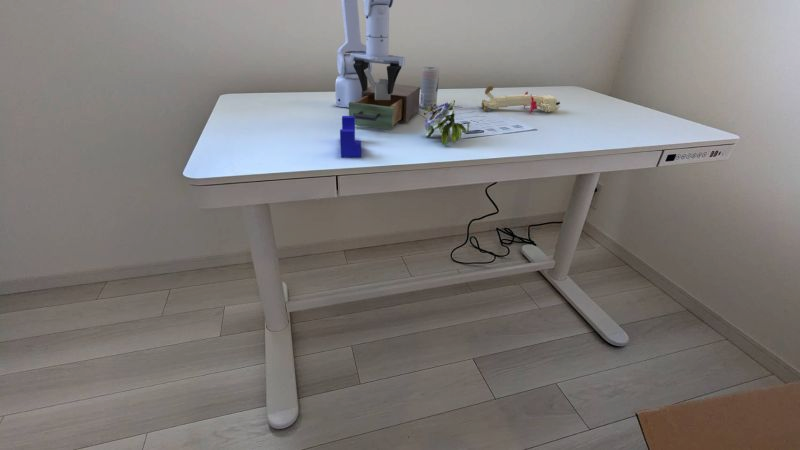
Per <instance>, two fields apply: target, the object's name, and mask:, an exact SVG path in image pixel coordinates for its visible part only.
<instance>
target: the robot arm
mask: <svg viewBox="0 0 800 450" xmlns="http://www.w3.org/2000/svg"><path fill="white" fill-rule="evenodd" d="M340 1H341V3H340V4H341V13H342V24H343V33H344V34H343V35H344V43H343V44H342V45H341V46H340V47H338V49H337V51H336V67H337V71H338V74H339V75H338V76H337V77H336V79H335V84H334V87H335V88H334V89H335V104H334V106H335V107H340V108H348V109H349V102H355V101H357V100H359V99H361V98H362V91H366V90H367V88H369V87H368V83H369V81H368V79H367V76H366V74H365V72H364V69H366V68H369V71H370V73H371V74H372V71H373V64H382V65H388V66H386V74H387V80H388V94H392V93H393V88H394V84H396V81H397V78H398V75H399V73H400V72H401V69H402V67H404V66H406V56H399V55H393V54H389V51H390V50H389V48H390V46H389V45H390V43H389V42H390V41H389V40H390V9H391V8H392V6H393V4H394V0H362V3H363V4H362V5H363V14H364V16H365V44H364V43H363V42H362V39H361V25H360V16H359V13H360V12H359V4H358V3H359V2H358V1H359V0H340Z"/></svg>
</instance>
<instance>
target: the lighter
mask: <svg viewBox="0 0 800 450" xmlns="http://www.w3.org/2000/svg"><path fill="white" fill-rule="evenodd" d="M364 72H365V74H366V76H367V81H368V83H369V85H370V86H373V85H375V100H390V94H388V78H387V79H386V78H378V81H375V78H374V77H373V75H372V72H371V73H370V71H369V68H366V69H364Z"/></svg>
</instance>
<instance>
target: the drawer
mask: <svg viewBox="0 0 800 450" xmlns="http://www.w3.org/2000/svg"><path fill="white" fill-rule="evenodd" d="M403 113H404V99H400V98H391V97H390V100H375V96H374V95H366V96H364V97H363V98H361V99H359V100H357V101H355V102H349V108H348V116H355V126H360V127H367V128H374V129H379V130H380V129H381V130H388V131H393V130H394V126H395V125H396V124H397V123H398V121H399V120H401V119H402V118H403Z"/></svg>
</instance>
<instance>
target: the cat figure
mask: <svg viewBox="0 0 800 450" xmlns="http://www.w3.org/2000/svg"><path fill="white" fill-rule="evenodd" d="M493 90H494V86H493V85H492V84H488V86H487V87H486V88H485V90H484V95H486V97H487V98H488V97H489V100H486V99H485V98H484V99H481V109H483V112H488V109H489V108H490V110H498V109H501V108H508V107H521V106H523V108H524V109H523V110H526V107H530V110H529V111H528V113H529V114H531V113H532V112H533V111H534V110H537V109H538V108H539V109H541V111H543V112H545V113H547V112H548V113H549V112H554V111H558V109H559V108H561V106H560V105H561V102H560V101H559V100H558V99H557V98H556V97H555V96H553V95H551V94H544V95H543V94H542V95H538V94H535V95H534V94H530V95H529V91H525V93H524V94H512V95H503V96H494V95H493V94H492V93H491V91H493Z"/></svg>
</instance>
